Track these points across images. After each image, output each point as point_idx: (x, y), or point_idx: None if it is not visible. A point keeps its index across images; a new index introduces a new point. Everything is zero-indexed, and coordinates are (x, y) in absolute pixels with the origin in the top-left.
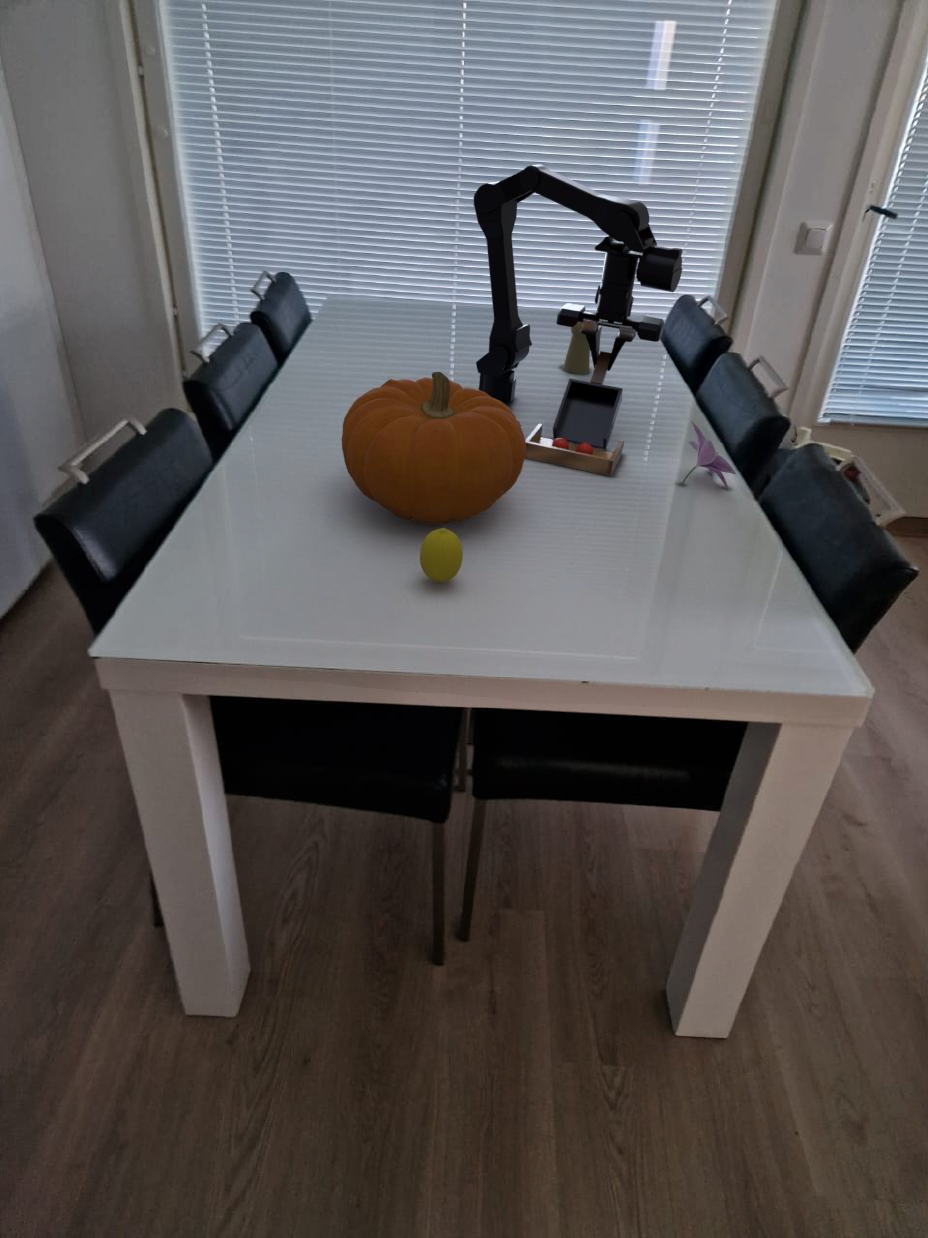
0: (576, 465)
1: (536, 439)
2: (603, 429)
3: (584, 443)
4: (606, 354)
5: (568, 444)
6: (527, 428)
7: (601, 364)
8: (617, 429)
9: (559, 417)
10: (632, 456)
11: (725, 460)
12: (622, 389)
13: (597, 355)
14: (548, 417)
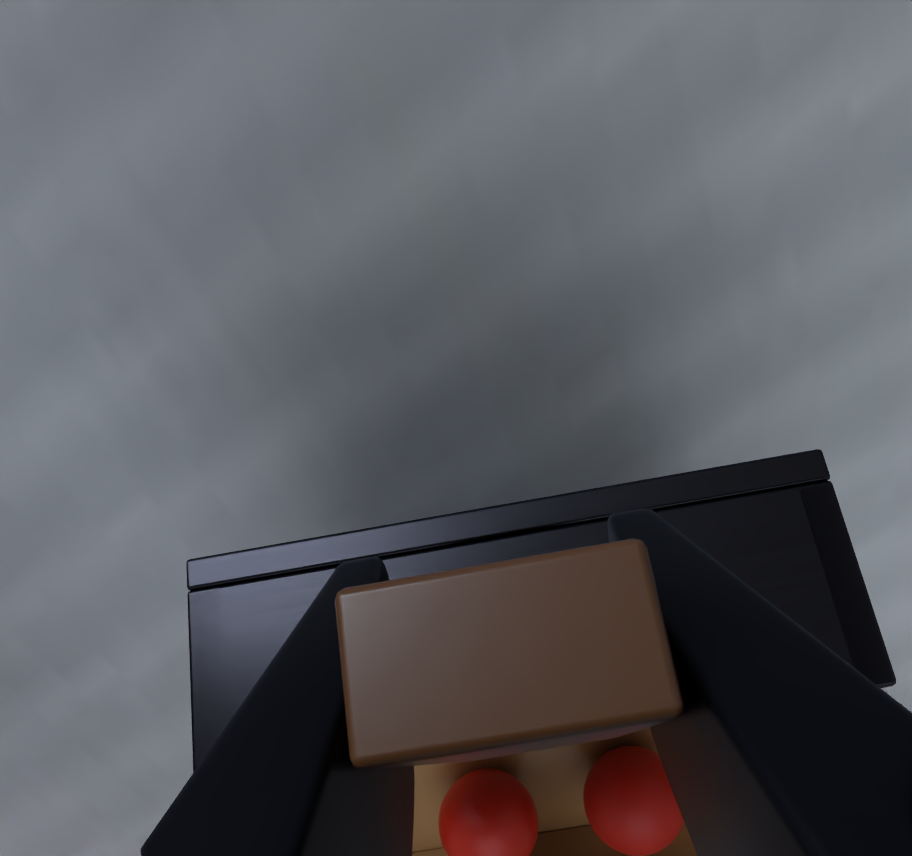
0: None
1: None
2: None
3: (637, 846)
4: (552, 740)
5: (535, 829)
6: (104, 588)
7: (523, 749)
8: (677, 127)
9: None
10: (883, 536)
11: None
12: (891, 670)
13: (388, 850)
14: (54, 303)
